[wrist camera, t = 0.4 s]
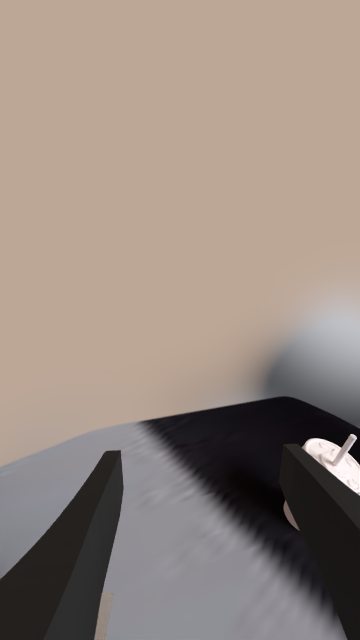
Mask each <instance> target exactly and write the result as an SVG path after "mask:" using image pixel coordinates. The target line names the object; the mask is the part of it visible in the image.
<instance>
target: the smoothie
mask: <svg viewBox="0 0 360 640" xmlns="http://www.w3.org/2000/svg"><path fill="white" fill-rule="evenodd" d="M356 439H357V437H356V436H355V435H353V434H351V435H350V436H349V438H348V439H347V441H346V442H345V444H344V445H343V447H342V448H340V447H339V446H337V445H335V444H333V443H331V442H329V441H326V440H323V439H316V438H314V439H310V440H308V441H307V442H306V443H305V445H304V446H303V447H302V448H303V449H304V450H305V451H306V452H307V453H309V454H310V455H311V456H312V457H313V458H314V459H316V460H317V461H318V462H319V463H320V464H321V465H323V466H324V467H325V468H326V469H327V470H329V471H330V472H331V473H332V474H333V475H335V476H336V477H337V478H338V479H339V480H341V481H342V482H343V483H344V484H346V485H347V486H348V487H349V488H351V489H352V490H353V491H354V492H356V493H357V494H358V495H360V465H359V464H358V463H357V462H356V461H355V459H354V458H353V457H352V456H350V455H349V454H348V453H347V452H348V450H349V449H350V448H351V446H352V445H353V443H354V442H355V440H356ZM284 513H285V515H286V517H287V519H288V521H289V522H290V523H291V524H292V525H293V526H294V527H295V528H296V529H298V530H299V528H298V526H297V524H296V522H295V520H294V518H293V516H292V514H291V512H290V509H289V507H288V505H287V502H286V500H285V503H284ZM299 531H300V530H299Z"/></svg>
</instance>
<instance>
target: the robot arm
mask: <svg viewBox="0 0 360 640" xmlns="http://www.w3.org/2000/svg"><path fill="white" fill-rule="evenodd" d="M279 482H280V485H281V488H282V491H283V494H284V497H285V499H286V502H287V505H288V507H289V509H290V512H291V514H292V516H293V518H294V520H295V522H296V524H297V526H298V528H299V530H300V532H301V534H302V536H303V538H304V540H305V542H306V544H307V546H308V549H309V551H310V553H311V555H312V557H313V559H314V561H315V563H316V565H317V567H318V569H319V571H320V573H321V575H322V578H323V580H324V582H325V584H326V586H327V589H328V591H329V594H330V596H331V599H332V601H333V604H334V606H335V609H336V611H337V614H338V616H339V619H340V621H341V624H342V626H343V629H344V632H345V634H346V637H347V639H348V640H360V495H358V494H357V493H356V492H354V491H353V490H352V489H351V488H349V487H348V486H347V485H346V484H344V483H343V482H342V481H341V480H339V479H338V478H337V477H336V476H335V475H333V474H332V473H331V472H330V471H329V470H327V469H326V468H325V467H324V466H323V465H321V464H320V463H319V462H318V461H317V460H316V459H314V458H313V457H312V456H311V455H310V454H309V453H307V452H306V451H305V450H304V449H303V448H302V447H300V446H299V445H298V444H284V445H283V453H282V462H281V470H280V478H279ZM122 496H123V474H122V461H121V450H118V451H106V452H105V453H104V454H103V456H102V457H101V459H100V461H99V462H98V464H97V465H96V467H95V468H94V470H93V471H92V473H91V474H90V476H89V477H88V479H87V480H86V482H85V483H84V484H83V486H82V487H81V489H80V490H79V491H78V493H77V494H76V495H75V497H74V498H73V499H72V501H71V502H70V503H69V505H68V506H67V507H66V508H65V510H64V511H63V512H62V513H61V515H60V516H59V517H58V518H57V520H56V521H55V522H54V523H53V524H52V526H51V527H50V528H49V529H48V530H47V531H46V533H45V534H44V535H43V536H42V537H41V538H40V539H39V540H38V541H37V543H36V544H35V545H34V546H33V547H32V548H31V549H30V550H29V551H28V552H27V553H26V554H25V555H24V556H23V557H22V558H21V559H20V560H19V561H18V563H17V564H16V565H15V566H14V567H13V568H12V569H11V570H10V571H9V572H8V573H7V574H6V575H5V576H3V577H2V578H1V579H0V640H94V638H95V632H96V626H97V620H98V613H99V607H100V601H101V596H102V591H103V586H104V581H105V577H106V573H107V569H108V564H109V560H110V556H111V552H112V547H113V543H114V539H115V534H116V530H117V526H118V521H119V517H120V511H121V504H122Z"/></svg>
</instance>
